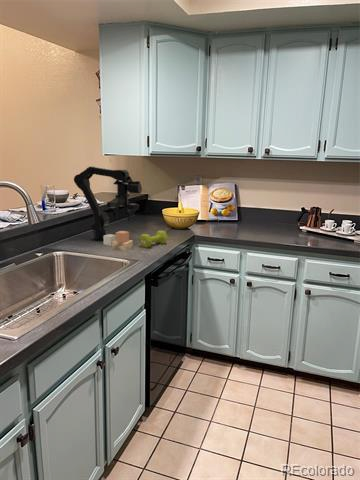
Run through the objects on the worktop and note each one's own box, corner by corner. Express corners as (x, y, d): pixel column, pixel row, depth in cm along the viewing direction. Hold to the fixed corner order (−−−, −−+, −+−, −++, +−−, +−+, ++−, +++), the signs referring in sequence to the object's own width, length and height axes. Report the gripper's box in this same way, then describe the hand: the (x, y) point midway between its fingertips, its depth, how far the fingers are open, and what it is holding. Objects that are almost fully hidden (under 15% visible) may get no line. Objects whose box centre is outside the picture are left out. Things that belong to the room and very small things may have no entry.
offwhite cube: (103, 244, 210) (103, 235, 209) (109, 242, 215) (109, 234, 214) (110, 245, 208) (110, 236, 207) (116, 244, 212) (116, 235, 211)
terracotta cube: (115, 241, 202) (115, 232, 200) (121, 239, 206) (121, 230, 205) (123, 243, 199) (123, 233, 198) (129, 241, 204) (129, 231, 202)
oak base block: (112, 249, 201) (112, 242, 200) (119, 246, 209) (119, 239, 208) (126, 251, 199) (126, 243, 198) (133, 247, 206) (133, 240, 205)
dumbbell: (148, 249, 203) (148, 236, 201) (137, 246, 208) (137, 233, 206) (168, 244, 215) (169, 231, 214) (158, 241, 220) (158, 229, 218)
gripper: (99, 192, 209) (100, 220, 213) (126, 195, 200) (127, 225, 204) (113, 191, 218) (113, 218, 222) (139, 193, 209) (139, 221, 213)
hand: (122, 220), depth 215 cm, fingers open, 9 cm apart
